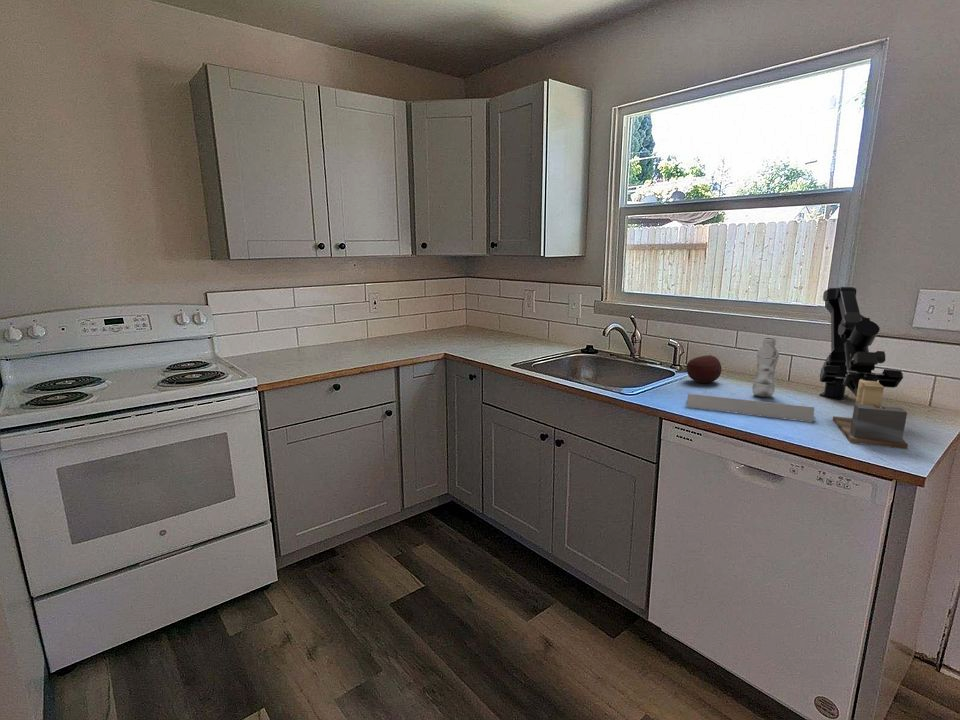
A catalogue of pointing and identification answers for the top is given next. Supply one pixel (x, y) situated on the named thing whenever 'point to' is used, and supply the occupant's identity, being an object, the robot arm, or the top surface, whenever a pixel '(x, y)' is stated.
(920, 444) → the top surface
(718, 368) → the potato
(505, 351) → the top surface
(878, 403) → the pale yellow box
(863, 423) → the walnut sill
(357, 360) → the top surface
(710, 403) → the decorative molding
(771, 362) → the plastic bottle
